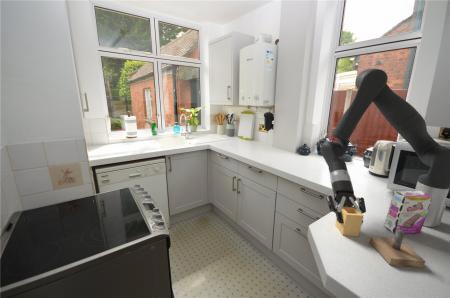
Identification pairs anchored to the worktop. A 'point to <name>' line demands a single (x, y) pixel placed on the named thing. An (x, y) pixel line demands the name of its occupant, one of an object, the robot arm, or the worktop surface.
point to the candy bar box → (407, 211)
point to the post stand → (396, 251)
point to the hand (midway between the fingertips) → (350, 223)
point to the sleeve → (350, 221)
